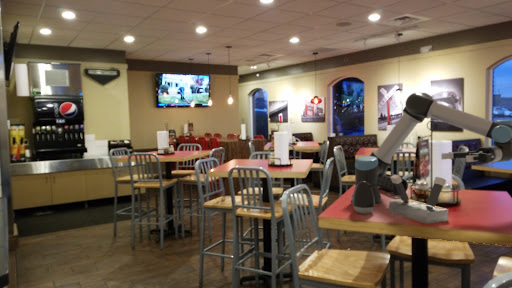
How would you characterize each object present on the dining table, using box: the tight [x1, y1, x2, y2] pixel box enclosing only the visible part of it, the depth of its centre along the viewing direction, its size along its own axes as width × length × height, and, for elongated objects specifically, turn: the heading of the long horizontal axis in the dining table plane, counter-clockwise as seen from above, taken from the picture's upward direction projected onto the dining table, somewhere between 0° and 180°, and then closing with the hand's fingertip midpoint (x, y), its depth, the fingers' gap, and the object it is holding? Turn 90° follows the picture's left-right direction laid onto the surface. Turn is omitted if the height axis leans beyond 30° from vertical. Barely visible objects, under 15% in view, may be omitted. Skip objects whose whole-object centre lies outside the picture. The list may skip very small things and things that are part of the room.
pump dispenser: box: [352, 181, 376, 215], centre depth 184 cm, size 10×10×15 cm
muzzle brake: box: [378, 172, 409, 196], centre depth 233 cm, size 10×28×10 cm, turn 8°
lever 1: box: [390, 174, 410, 203], centre depth 180 cm, size 4×3×14 cm
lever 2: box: [426, 176, 447, 209], centre depth 170 cm, size 4×3×14 cm
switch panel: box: [388, 198, 449, 225], centre depth 176 cm, size 23×12×5 cm, turn 22°
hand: (454, 157), depth 173 cm, fingers open, 12 cm apart
